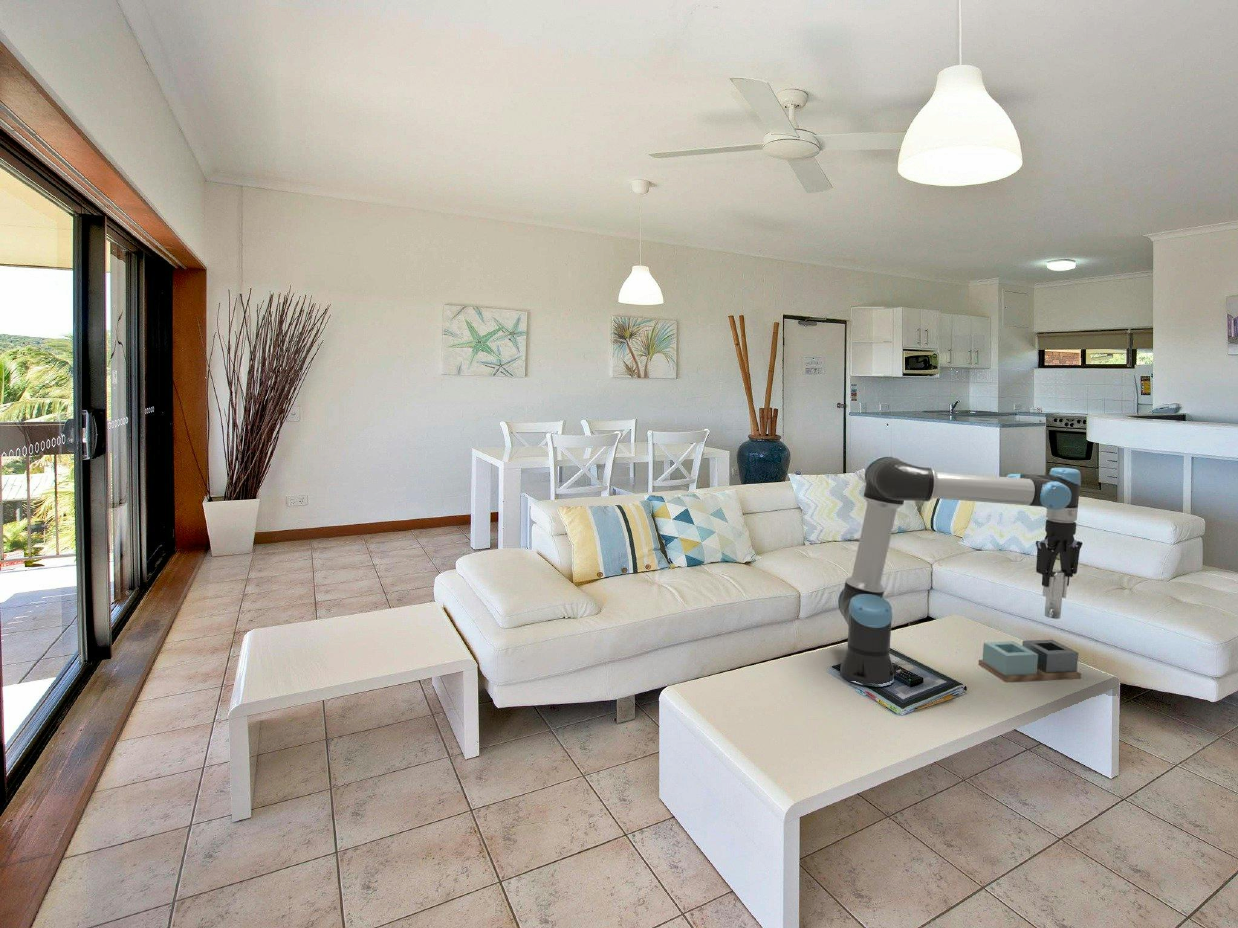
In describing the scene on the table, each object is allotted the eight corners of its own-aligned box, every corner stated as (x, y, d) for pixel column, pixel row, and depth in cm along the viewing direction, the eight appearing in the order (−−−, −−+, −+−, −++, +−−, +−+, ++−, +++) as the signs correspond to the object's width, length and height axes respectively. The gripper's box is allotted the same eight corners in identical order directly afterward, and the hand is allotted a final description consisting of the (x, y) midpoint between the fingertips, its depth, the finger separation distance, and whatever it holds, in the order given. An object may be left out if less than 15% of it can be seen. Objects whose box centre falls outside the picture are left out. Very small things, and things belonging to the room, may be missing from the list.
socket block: (1045, 673, 191) (1047, 653, 190) (1021, 659, 201) (1022, 640, 200) (1076, 671, 192) (1078, 652, 191) (1050, 657, 202) (1052, 639, 201)
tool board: (1005, 681, 189) (1005, 676, 188) (978, 664, 200) (978, 659, 200) (1080, 678, 191) (1080, 673, 191) (1049, 661, 203) (1049, 656, 203)
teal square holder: (1005, 675, 189) (1006, 655, 189) (982, 661, 199) (983, 642, 199) (1036, 673, 191) (1038, 654, 190) (1012, 659, 200) (1013, 641, 200)
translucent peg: (1051, 618, 192) (1055, 573, 191) (1041, 614, 196) (1045, 569, 195) (1063, 618, 193) (1067, 573, 191) (1053, 613, 197) (1057, 569, 195)
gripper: (1044, 523, 186) (1037, 601, 189) (1098, 522, 188) (1090, 599, 191) (1025, 518, 194) (1018, 593, 197) (1077, 517, 196) (1069, 591, 198)
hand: (1054, 596), depth 194 cm, fingers closed on translucent peg, 4 cm apart
